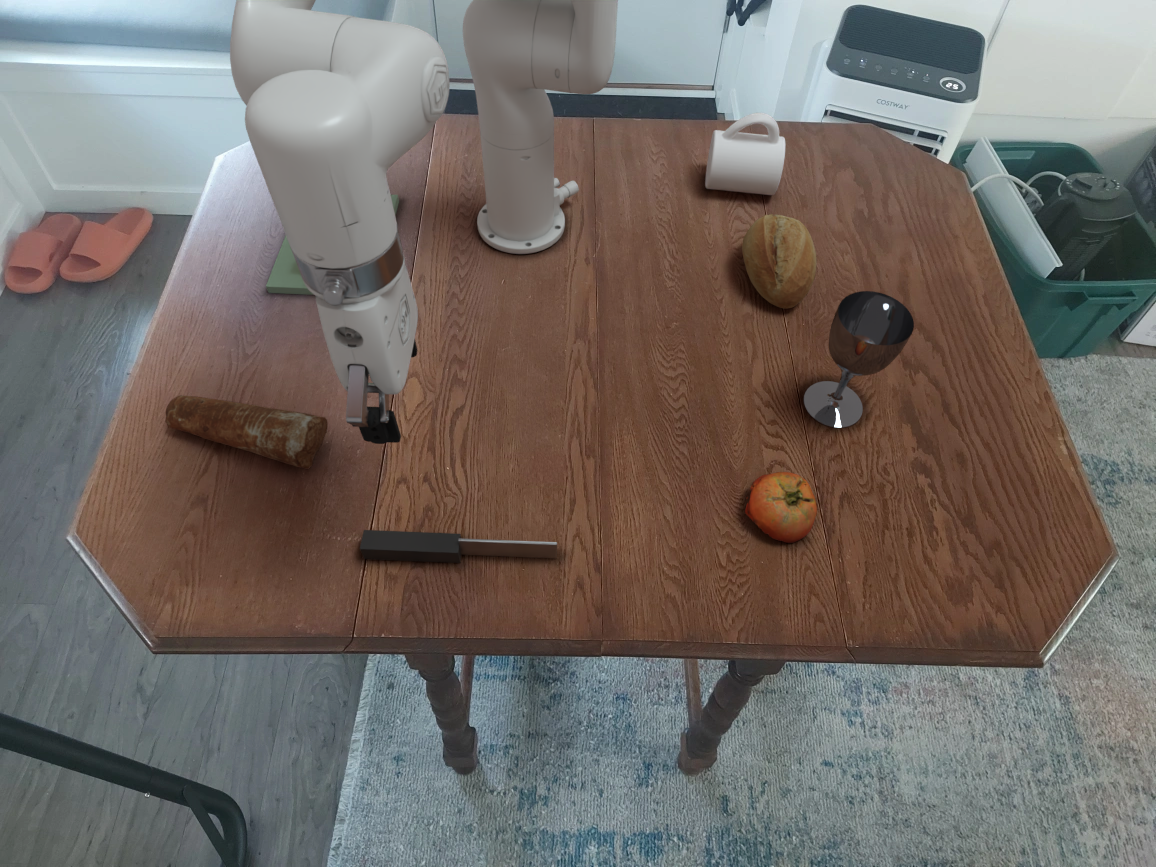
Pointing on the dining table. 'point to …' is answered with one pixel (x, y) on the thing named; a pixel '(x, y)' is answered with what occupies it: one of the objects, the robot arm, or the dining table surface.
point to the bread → (250, 427)
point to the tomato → (782, 506)
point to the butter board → (294, 269)
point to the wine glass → (858, 353)
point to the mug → (746, 157)
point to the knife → (445, 547)
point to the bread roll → (780, 259)
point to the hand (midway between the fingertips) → (392, 395)
